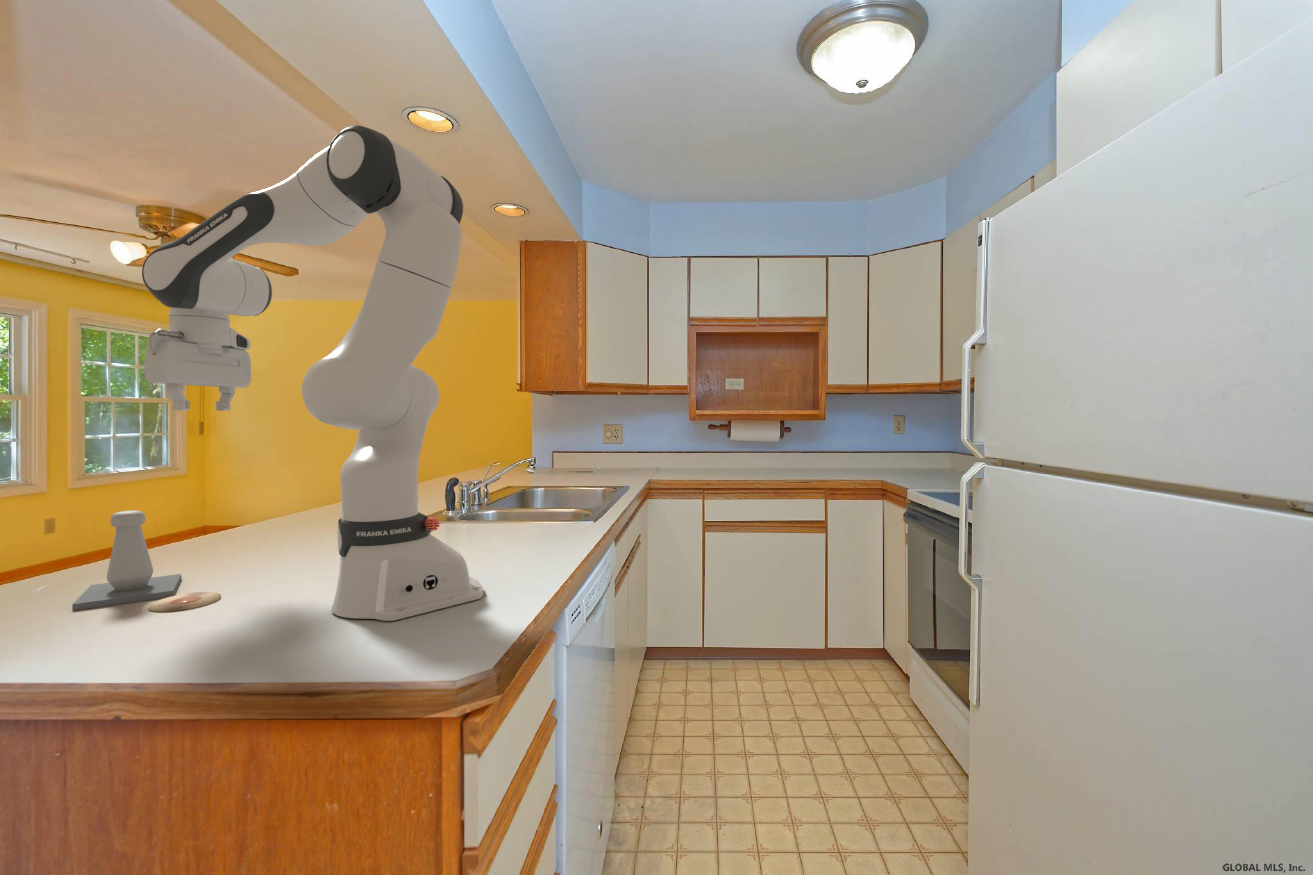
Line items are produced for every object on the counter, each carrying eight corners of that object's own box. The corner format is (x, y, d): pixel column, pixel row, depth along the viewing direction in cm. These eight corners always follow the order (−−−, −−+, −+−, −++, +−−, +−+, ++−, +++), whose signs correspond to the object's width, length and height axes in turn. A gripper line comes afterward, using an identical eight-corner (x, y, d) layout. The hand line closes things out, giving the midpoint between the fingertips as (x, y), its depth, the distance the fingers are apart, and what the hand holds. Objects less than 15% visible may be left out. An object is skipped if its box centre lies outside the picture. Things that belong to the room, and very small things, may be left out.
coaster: (222, 590, 99) (222, 588, 99) (219, 604, 91) (219, 602, 91) (153, 600, 94) (153, 598, 94) (144, 616, 86) (144, 614, 86)
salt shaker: (160, 585, 98) (157, 510, 98) (116, 595, 93) (113, 515, 93) (144, 581, 101) (141, 507, 100) (101, 590, 96) (97, 512, 95)
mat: (181, 579, 105) (181, 573, 105) (173, 596, 96) (173, 590, 96) (91, 590, 99) (91, 585, 99) (72, 610, 89) (72, 604, 89)
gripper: (167, 327, 95) (171, 410, 96) (256, 342, 116) (259, 410, 116) (130, 327, 95) (134, 410, 96) (226, 342, 116) (228, 410, 117)
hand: (203, 410), depth 106 cm, fingers open, 8 cm apart
